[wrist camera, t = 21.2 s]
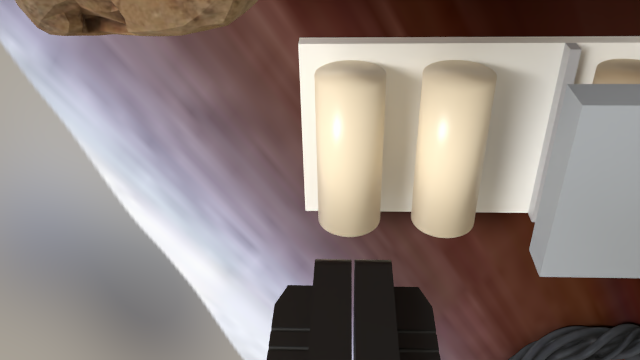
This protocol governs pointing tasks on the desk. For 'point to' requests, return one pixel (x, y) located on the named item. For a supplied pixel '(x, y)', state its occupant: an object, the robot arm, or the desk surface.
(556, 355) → the cable
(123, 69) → the desk surface
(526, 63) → the roller bed
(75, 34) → the block
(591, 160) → the slab
